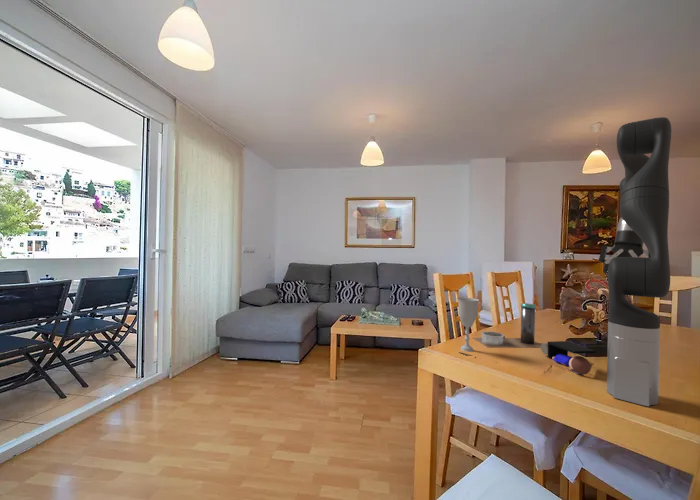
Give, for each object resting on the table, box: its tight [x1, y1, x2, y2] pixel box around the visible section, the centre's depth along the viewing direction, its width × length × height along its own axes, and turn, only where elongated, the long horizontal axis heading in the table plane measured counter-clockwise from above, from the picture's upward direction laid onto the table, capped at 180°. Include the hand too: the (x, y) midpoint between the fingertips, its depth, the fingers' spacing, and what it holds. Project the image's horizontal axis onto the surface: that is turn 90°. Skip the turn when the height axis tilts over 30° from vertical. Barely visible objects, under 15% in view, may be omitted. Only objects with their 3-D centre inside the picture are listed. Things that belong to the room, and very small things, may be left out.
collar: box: [480, 331, 506, 346], centre depth 114 cm, size 8×8×3 cm
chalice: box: [456, 297, 480, 357], centre depth 105 cm, size 7×7×18 cm
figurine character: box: [540, 340, 596, 376], centre depth 94 cm, size 7×8×15 cm
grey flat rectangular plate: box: [472, 337, 542, 349], centre depth 115 cm, size 22×12×1 cm, turn 93°
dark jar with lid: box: [520, 302, 537, 344], centre depth 115 cm, size 5×5×14 cm
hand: (622, 277), depth 109 cm, fingers open, 8 cm apart
